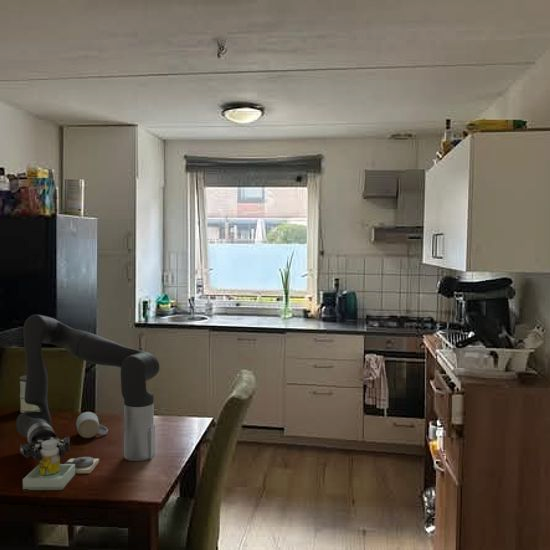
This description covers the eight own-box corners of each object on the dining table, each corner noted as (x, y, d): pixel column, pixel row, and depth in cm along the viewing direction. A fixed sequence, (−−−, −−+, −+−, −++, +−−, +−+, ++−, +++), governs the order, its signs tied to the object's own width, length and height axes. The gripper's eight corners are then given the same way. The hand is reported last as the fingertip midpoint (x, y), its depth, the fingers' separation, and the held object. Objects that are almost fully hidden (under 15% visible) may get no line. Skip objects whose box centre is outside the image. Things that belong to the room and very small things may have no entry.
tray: (75, 474, 161) (75, 464, 160) (62, 489, 150) (62, 479, 150) (38, 474, 160) (38, 464, 160) (22, 490, 150) (22, 479, 149)
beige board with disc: (99, 461, 170) (99, 452, 170) (90, 473, 161) (90, 463, 161) (70, 461, 170) (69, 452, 170) (59, 473, 161) (59, 464, 161)
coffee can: (16, 409, 226) (16, 375, 226) (42, 405, 233) (42, 372, 232) (23, 415, 218) (23, 380, 218) (50, 410, 225) (50, 376, 224)
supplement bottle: (63, 473, 156) (63, 440, 156) (47, 480, 151) (47, 446, 151) (51, 469, 159) (51, 437, 158) (35, 476, 154) (35, 443, 154)
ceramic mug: (78, 440, 189) (78, 418, 189) (76, 433, 197) (76, 412, 197) (109, 437, 194) (109, 415, 193) (106, 430, 201) (106, 409, 201)
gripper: (15, 429, 163) (23, 447, 149) (66, 421, 171) (77, 438, 156) (16, 453, 163) (23, 473, 149) (66, 445, 171) (77, 463, 156)
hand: (51, 455), depth 153 cm, fingers closed on supplement bottle, 5 cm apart
